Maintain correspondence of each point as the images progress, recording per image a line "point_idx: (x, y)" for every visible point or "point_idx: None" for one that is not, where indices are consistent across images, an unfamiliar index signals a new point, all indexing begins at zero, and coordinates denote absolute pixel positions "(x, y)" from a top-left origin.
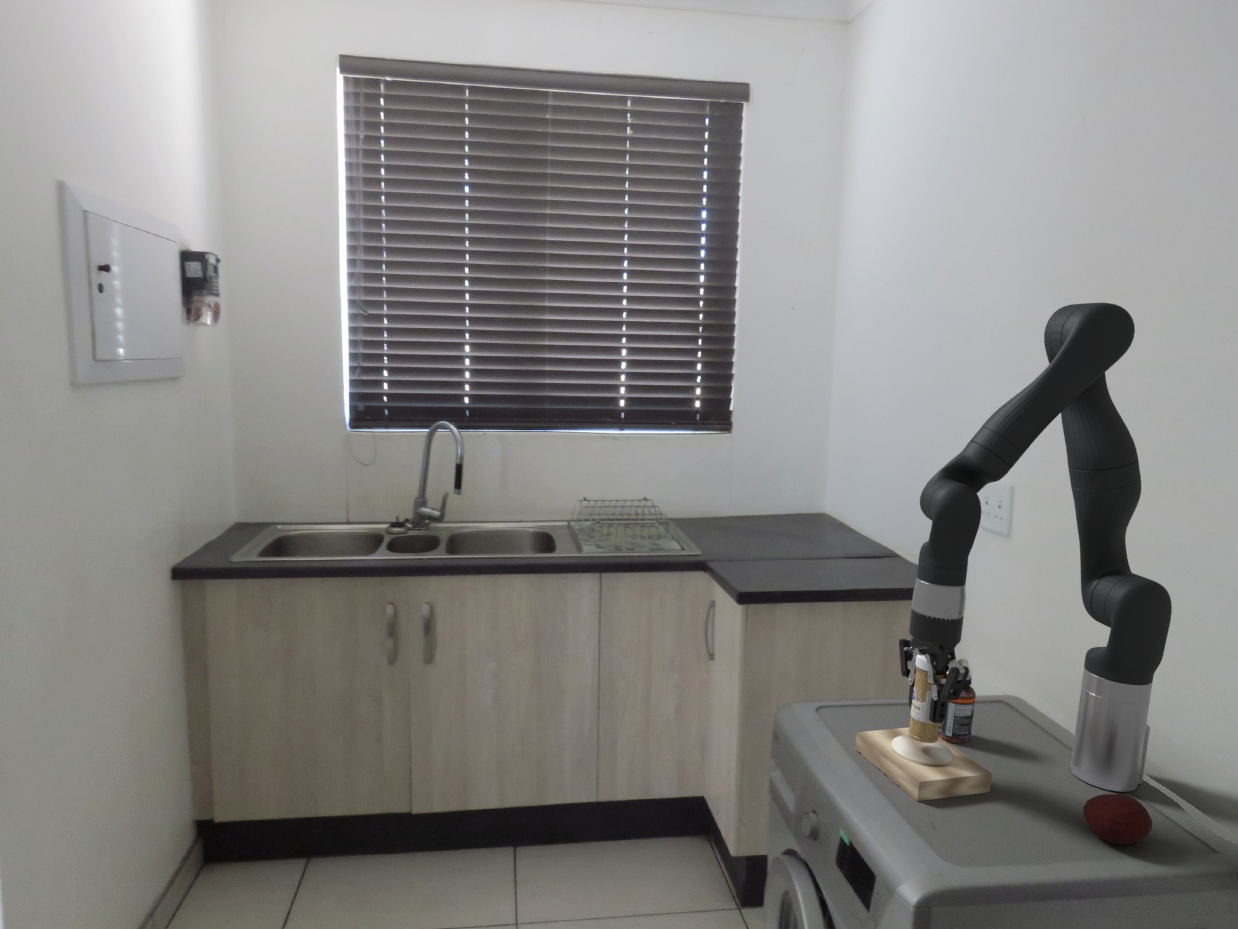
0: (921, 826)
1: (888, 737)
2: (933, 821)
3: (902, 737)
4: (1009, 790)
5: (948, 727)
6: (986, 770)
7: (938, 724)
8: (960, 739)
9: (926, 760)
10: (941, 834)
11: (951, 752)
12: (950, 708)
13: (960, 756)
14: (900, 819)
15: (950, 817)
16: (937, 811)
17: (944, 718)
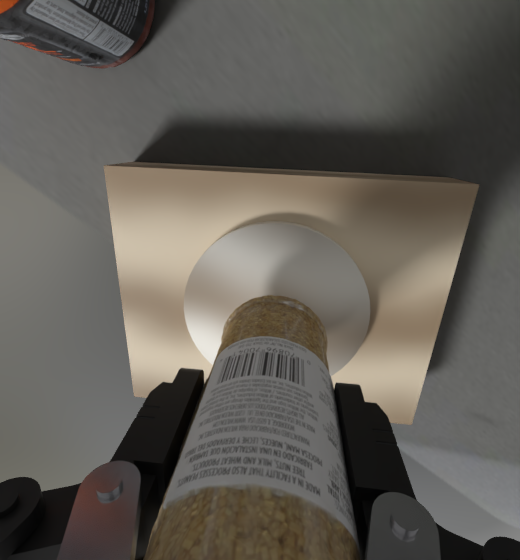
0: (473, 438)
1: (173, 339)
2: (472, 408)
3: (196, 322)
4: (471, 96)
5: (107, 44)
6: (454, 188)
7: (323, 359)
8: (149, 5)
9: (344, 355)
10: (515, 425)
11: (328, 241)
12: (52, 17)
13: (340, 206)
14: (433, 455)
15: (481, 367)
16: (448, 375)
17: (382, 413)
